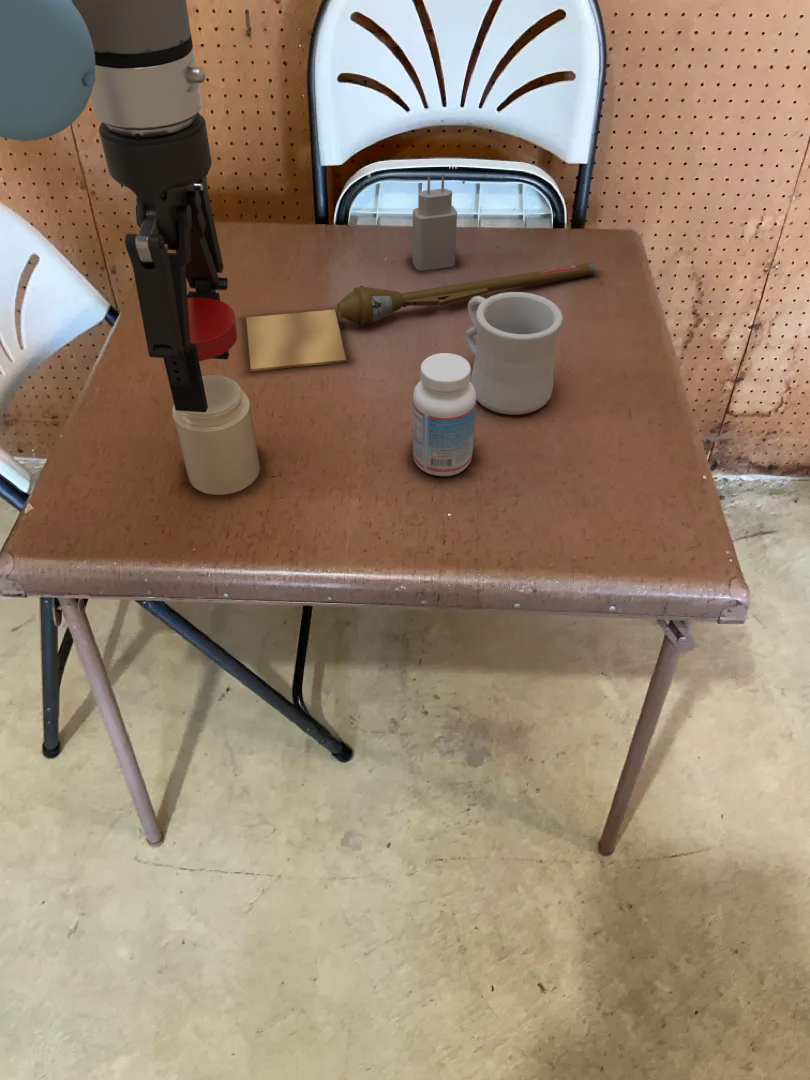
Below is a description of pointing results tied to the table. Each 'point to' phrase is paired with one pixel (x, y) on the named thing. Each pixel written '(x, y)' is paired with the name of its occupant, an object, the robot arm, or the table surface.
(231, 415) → the beige jar
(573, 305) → the table surface
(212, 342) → the lid
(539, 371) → the mug
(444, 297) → the toy grenade launcher
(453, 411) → the pill bottle
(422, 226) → the power adapter
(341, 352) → the coaster
